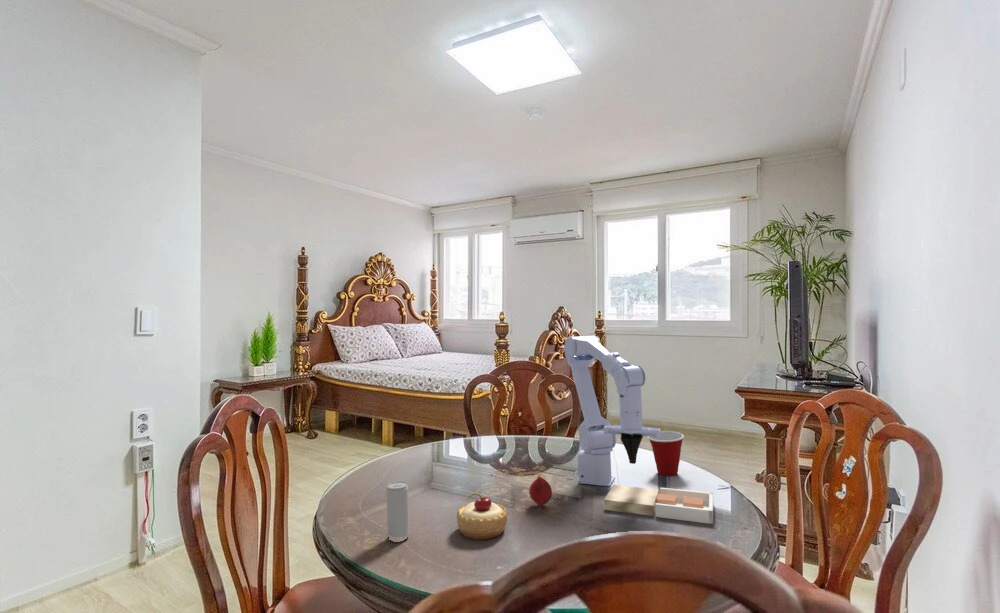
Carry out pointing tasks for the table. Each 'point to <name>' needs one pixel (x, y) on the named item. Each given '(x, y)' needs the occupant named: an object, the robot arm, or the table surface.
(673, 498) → the tile
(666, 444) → the plastic cup
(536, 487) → the onion
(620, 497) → the board
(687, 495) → the tray
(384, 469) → the table surface
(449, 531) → the table surface
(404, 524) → the beverage can
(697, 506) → the tile
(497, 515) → the pastry
